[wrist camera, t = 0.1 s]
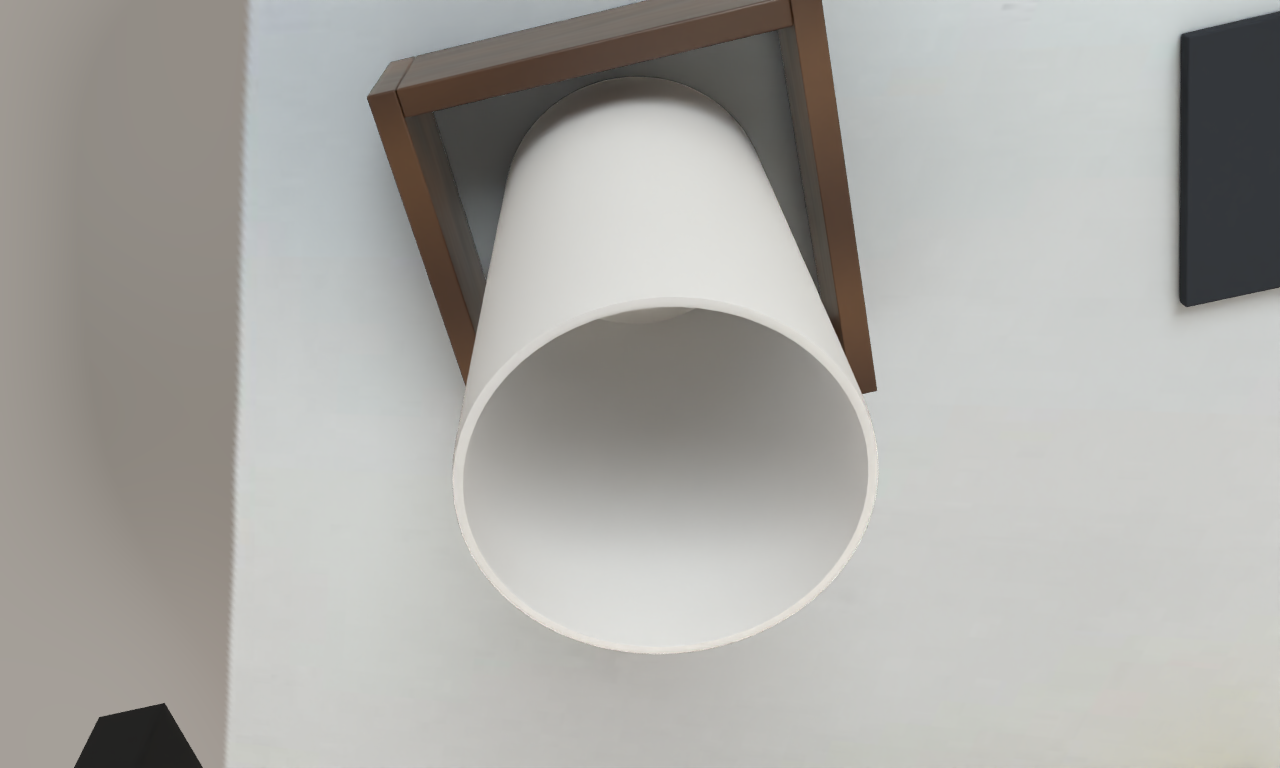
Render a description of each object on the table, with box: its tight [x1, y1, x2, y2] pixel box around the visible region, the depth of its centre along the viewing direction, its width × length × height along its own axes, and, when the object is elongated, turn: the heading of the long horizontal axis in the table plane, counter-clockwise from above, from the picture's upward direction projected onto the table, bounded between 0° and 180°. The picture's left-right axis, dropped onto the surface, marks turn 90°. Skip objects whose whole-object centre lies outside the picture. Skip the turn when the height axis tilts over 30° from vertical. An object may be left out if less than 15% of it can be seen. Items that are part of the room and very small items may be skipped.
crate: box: [367, 0, 877, 394], centre depth 34 cm, size 12×12×4 cm
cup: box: [453, 76, 878, 654], centre depth 29 cm, size 8×8×16 cm
